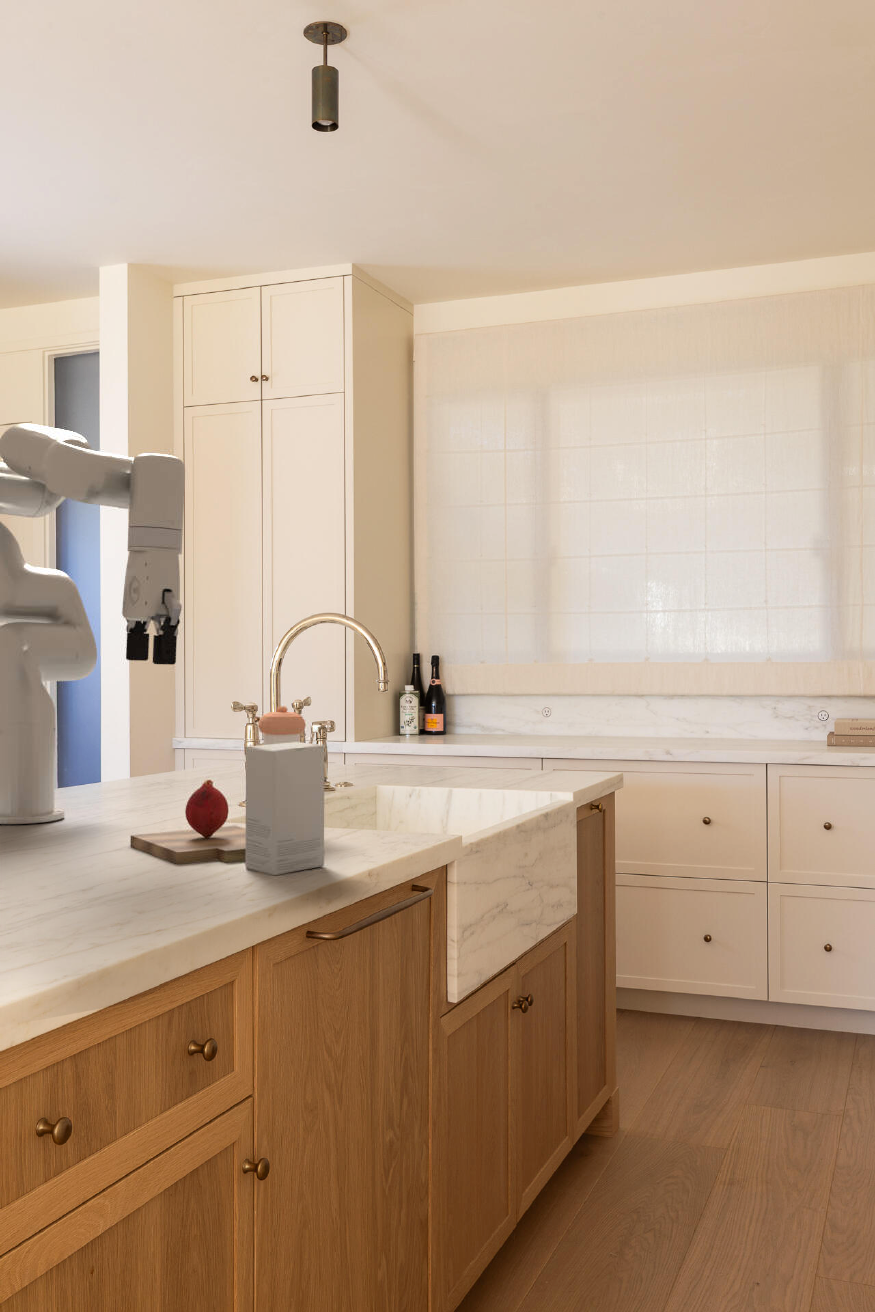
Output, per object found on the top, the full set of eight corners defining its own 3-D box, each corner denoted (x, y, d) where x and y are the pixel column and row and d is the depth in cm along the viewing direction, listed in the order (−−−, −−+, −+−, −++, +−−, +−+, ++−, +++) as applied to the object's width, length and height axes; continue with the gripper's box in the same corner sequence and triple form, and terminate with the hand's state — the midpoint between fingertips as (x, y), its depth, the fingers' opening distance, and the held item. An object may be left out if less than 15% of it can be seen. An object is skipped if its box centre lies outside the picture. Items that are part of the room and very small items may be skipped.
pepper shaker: (300, 830, 168) (301, 705, 168) (309, 837, 161) (311, 707, 161) (252, 832, 166) (253, 705, 166) (260, 840, 159) (261, 707, 159)
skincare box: (295, 860, 143) (297, 741, 143) (327, 868, 139) (328, 744, 139) (242, 869, 137) (243, 744, 138) (273, 876, 133) (274, 748, 133)
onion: (218, 842, 148) (218, 782, 148) (178, 840, 149) (178, 781, 149) (234, 835, 154) (234, 778, 154) (195, 833, 155) (196, 776, 155)
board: (130, 846, 153) (130, 835, 153) (235, 835, 162) (235, 825, 162) (185, 867, 138) (185, 855, 138) (296, 854, 148) (297, 843, 148)
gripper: (107, 542, 161) (102, 658, 162) (154, 538, 147) (149, 665, 148) (156, 546, 166) (151, 659, 166) (205, 542, 152) (200, 666, 153)
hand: (150, 662), depth 157 cm, fingers open, 9 cm apart
